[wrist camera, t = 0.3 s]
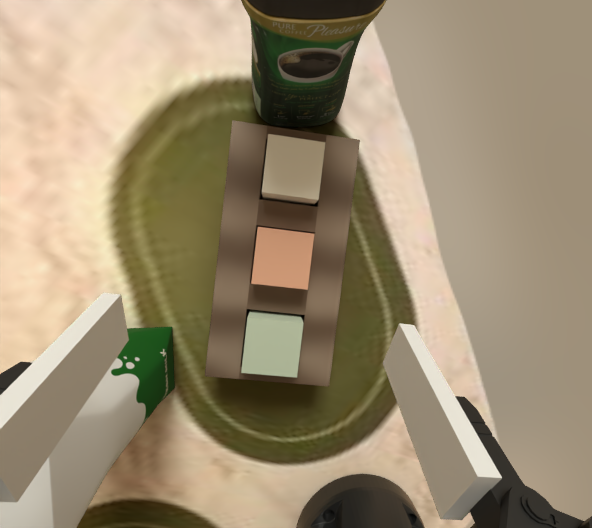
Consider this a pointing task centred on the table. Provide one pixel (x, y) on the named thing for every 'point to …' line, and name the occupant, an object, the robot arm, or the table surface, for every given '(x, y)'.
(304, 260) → the terracotta button
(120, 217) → the table surface
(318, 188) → the cream button
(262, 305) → the button console
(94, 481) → the milk carton
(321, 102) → the coffee jar
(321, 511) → the robot arm
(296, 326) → the sage button
